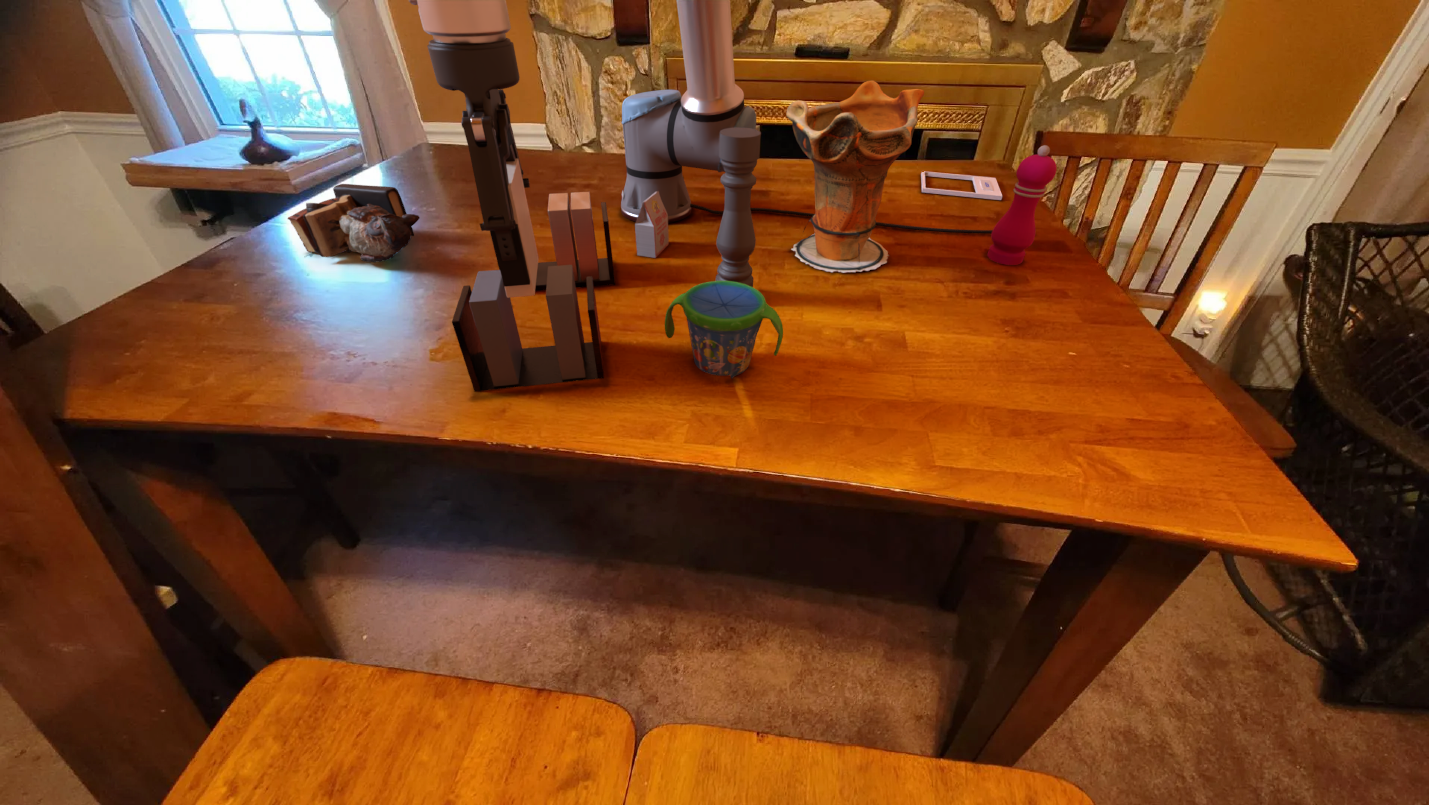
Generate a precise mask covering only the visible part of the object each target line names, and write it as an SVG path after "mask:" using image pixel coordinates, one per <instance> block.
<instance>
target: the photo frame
mask: <svg viewBox="0 0 1429 805" xmlns="http://www.w3.org/2000/svg"><path fill="white" fill-rule="evenodd" d="M923 171H924V170H923ZM926 177H934V178H943V179H944V178H945V179H953V180H954V179H956V180H963V181H964V180H965V181H972V184H973V188H974V191H975V192H972V191H963V190H962V191H961V190H953V189H943V188H932V187H926ZM920 182H921V183H920V184H921V193H923V194H925V193H926V194H938V195H944V196H945V195H946V196H956V197H966V198H974V199H975V198H976V199H986V200H996V201H1002V200H1003V194H1002V192H1001V188H1000V186H999V183H998V181H997V178H996V177H990V176H979V175H970V174H957V173H947V172H946V173H945V172H935V171H924V172H922V171H921V173H920Z"/></svg>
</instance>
